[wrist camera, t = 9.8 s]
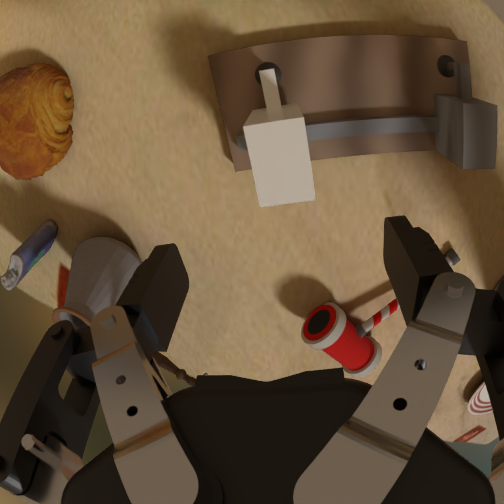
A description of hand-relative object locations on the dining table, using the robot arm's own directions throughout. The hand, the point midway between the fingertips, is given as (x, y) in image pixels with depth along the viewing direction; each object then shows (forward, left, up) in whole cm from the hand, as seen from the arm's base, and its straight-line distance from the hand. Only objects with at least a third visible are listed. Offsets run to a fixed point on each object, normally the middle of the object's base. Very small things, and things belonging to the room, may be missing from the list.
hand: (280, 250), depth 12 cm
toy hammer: (-9, +25, -22) cm, 35 cm away
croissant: (+29, -10, -22) cm, 37 cm away
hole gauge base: (-8, -3, -22) cm, 23 cm away
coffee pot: (+20, +15, -22) cm, 33 cm away
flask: (+36, +7, -22) cm, 43 cm away
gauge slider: (0, -2, -20) cm, 20 cm away
